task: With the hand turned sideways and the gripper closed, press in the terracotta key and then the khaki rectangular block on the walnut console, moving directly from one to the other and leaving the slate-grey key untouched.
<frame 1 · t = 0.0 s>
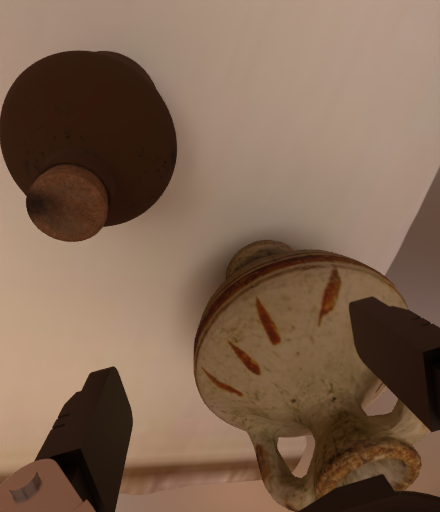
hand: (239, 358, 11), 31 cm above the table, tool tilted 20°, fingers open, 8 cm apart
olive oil: (111, 104, 35), on the table
amphora: (260, 270, 50), on the table
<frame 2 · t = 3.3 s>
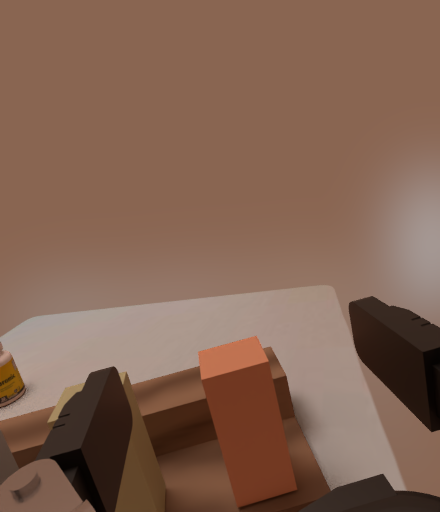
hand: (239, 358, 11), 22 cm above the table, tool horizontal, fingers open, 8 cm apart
terracotta key: (247, 420, 28), point 8 cm above the table, slide at 0.0 cm
console: (146, 502, 32), on the table
supplement bottle: (9, 398, 57), on the table
khaki rectangular block: (114, 458, 27), point 8 cm above the table, slide at 0.0 cm
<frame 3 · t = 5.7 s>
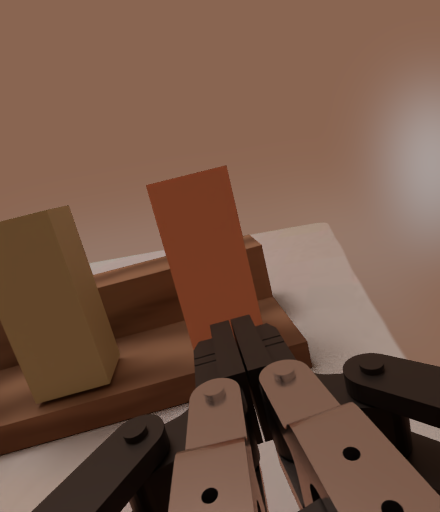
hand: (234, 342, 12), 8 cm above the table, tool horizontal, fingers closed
terracotta key: (208, 261, 24), point 8 cm above the table, slide at 0.0 cm
console: (101, 380, 28), on the table
khaki rectangular block: (52, 301, 23), point 8 cm above the table, slide at 0.0 cm
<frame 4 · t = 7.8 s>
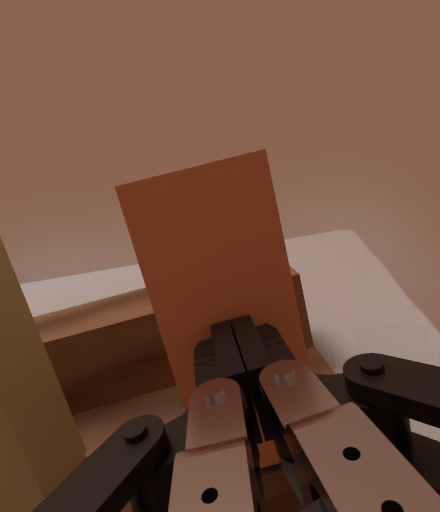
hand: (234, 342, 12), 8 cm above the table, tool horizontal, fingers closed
terracotta key: (226, 313, 14), point 8 cm above the table, slide at 0.0 cm, touching gripper
console: (60, 483, 19), on the table
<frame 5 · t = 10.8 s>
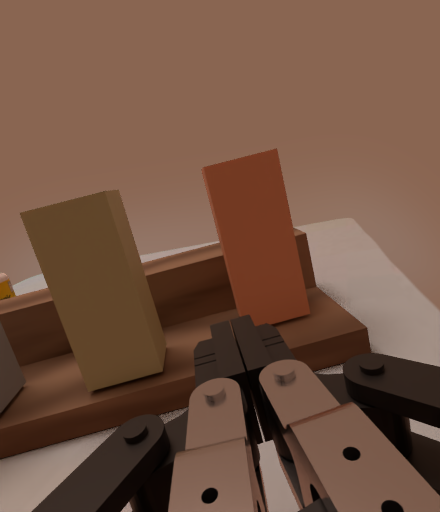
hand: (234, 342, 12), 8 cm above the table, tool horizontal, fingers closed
terracotta key: (254, 240, 26), point 8 cm above the table, slide at 2.4 cm
console: (145, 371, 28), on the table
supplement bottle: (5, 324, 53), on the table
khaki rectangular block: (103, 287, 23), point 8 cm above the table, slide at 0.0 cm
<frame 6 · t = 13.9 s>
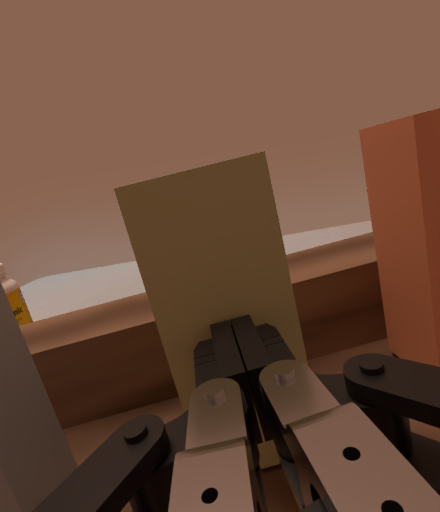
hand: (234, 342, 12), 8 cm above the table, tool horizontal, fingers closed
console: (258, 443, 18), on the table
supplement bottle: (15, 342, 43), on the table
khaki rectangular block: (225, 314, 14), point 8 cm above the table, slide at 1.2 cm, touching gripper
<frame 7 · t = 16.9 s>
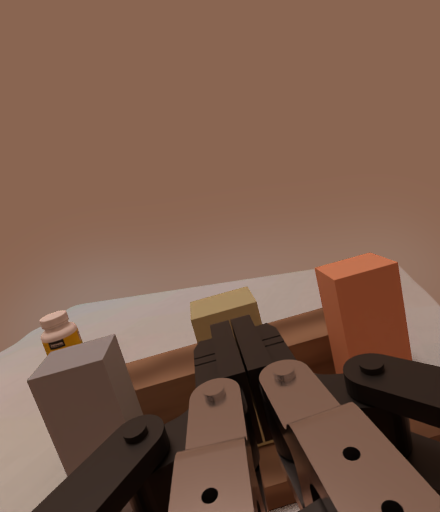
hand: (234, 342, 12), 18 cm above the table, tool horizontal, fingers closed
terracotta key: (365, 332, 29), point 8 cm above the table, slide at 2.4 cm
console: (260, 446, 31), on the table
slate key: (101, 426, 25), point 8 cm above the table, slide at 0.0 cm
supplement bottle: (74, 371, 56), on the table
khaki rectangular block: (239, 368, 28), point 8 cm above the table, slide at 2.5 cm
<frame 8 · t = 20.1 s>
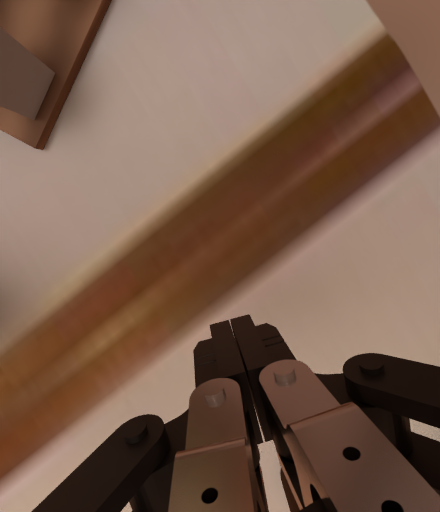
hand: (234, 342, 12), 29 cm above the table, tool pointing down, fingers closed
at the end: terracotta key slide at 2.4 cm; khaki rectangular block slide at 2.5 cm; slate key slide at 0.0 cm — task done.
